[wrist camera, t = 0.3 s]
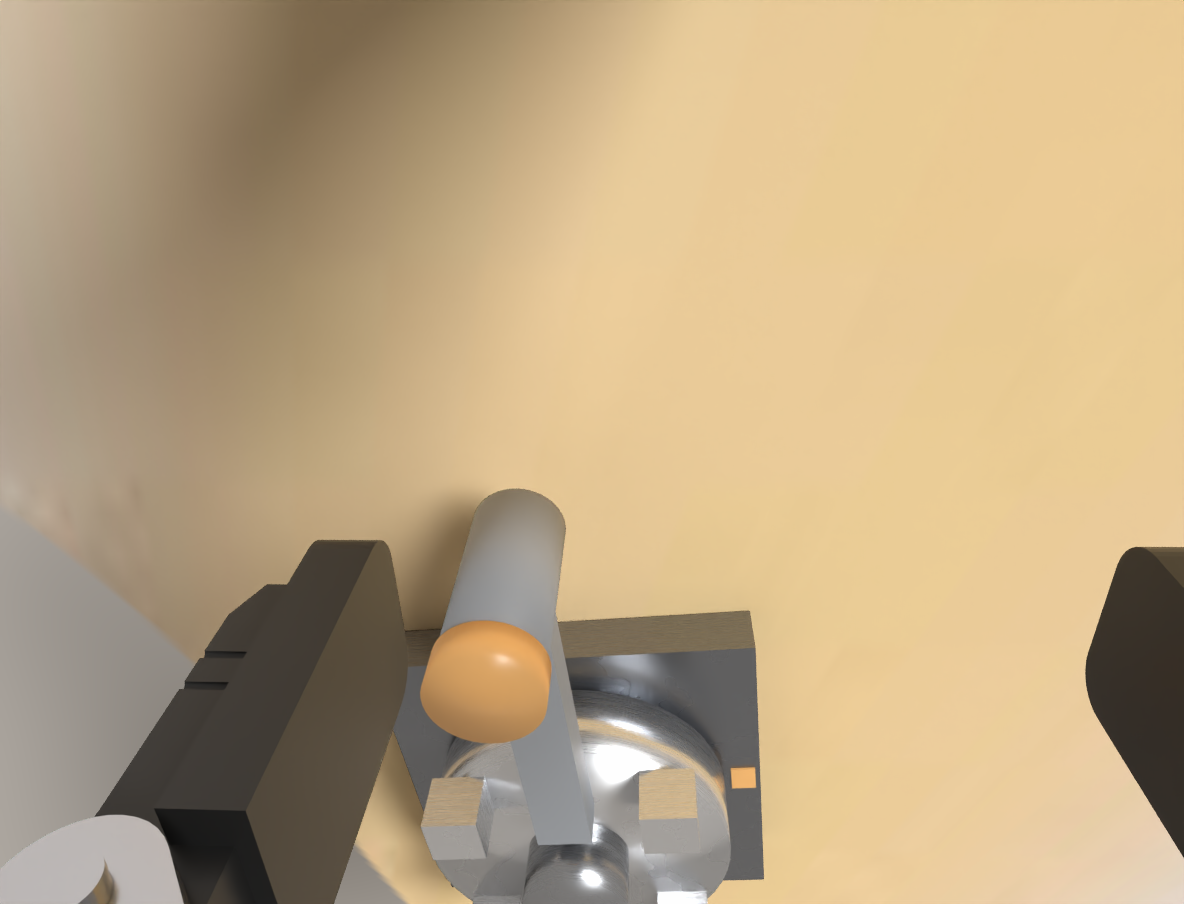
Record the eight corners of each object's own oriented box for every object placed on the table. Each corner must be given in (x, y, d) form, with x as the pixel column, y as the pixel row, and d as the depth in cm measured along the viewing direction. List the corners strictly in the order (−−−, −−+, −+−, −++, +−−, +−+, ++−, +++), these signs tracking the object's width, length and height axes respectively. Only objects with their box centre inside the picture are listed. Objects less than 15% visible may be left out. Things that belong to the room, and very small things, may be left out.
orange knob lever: (339, 478, 28) (235, 668, 21) (700, 448, 27) (721, 641, 20) (475, 872, 40) (438, 1080, 33) (730, 865, 39) (750, 1081, 31)
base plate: (383, 632, 35) (369, 670, 33) (749, 610, 33) (755, 649, 32) (459, 848, 43) (451, 888, 41) (758, 839, 41) (764, 881, 39)
